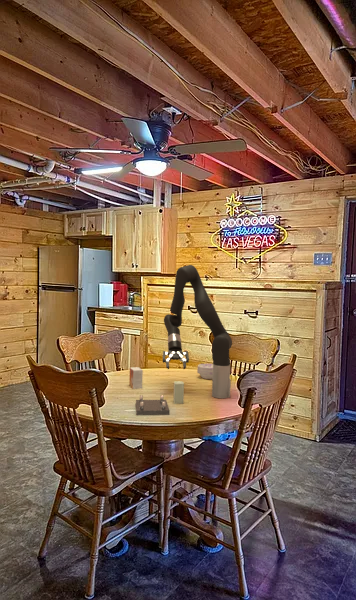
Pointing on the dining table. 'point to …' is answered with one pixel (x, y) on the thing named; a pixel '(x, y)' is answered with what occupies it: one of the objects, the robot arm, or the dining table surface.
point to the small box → (135, 377)
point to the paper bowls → (205, 371)
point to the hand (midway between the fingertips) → (176, 368)
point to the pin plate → (152, 406)
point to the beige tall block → (178, 392)
